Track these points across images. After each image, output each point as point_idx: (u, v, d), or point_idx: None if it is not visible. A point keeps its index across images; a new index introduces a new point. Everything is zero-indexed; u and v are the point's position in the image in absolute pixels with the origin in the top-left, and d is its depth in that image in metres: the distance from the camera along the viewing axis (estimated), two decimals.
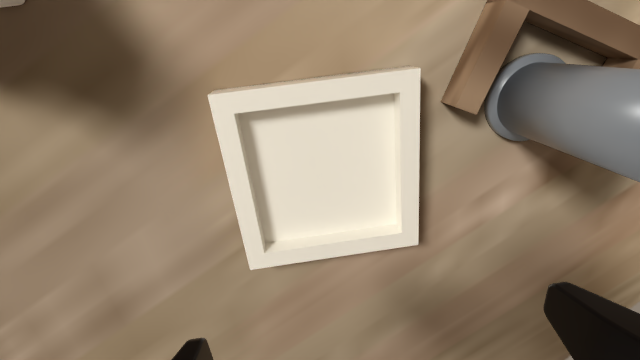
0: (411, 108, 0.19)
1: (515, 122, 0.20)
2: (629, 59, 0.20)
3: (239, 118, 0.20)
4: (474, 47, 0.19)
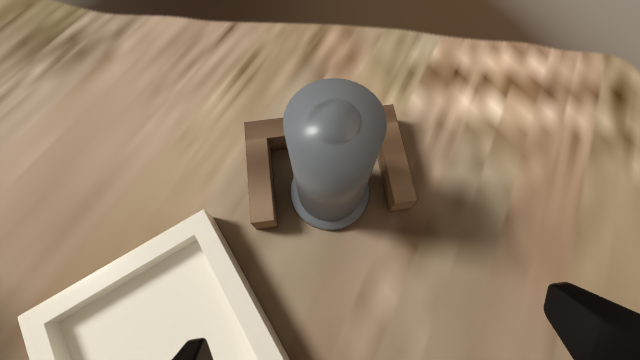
0: (211, 241, 0.20)
1: (310, 208, 0.21)
2: None
3: (62, 329, 0.20)
4: None
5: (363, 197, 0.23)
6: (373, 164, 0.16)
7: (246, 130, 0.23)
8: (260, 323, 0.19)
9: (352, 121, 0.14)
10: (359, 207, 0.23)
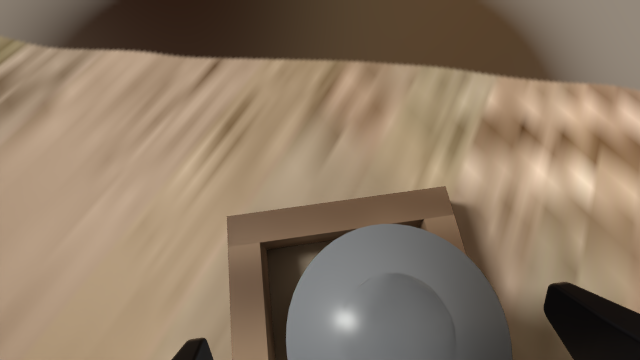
0: None
1: None
2: (421, 222, 0.16)
3: None
4: None
5: None
6: None
7: (229, 229, 0.16)
8: None
9: (436, 332, 0.07)
10: None
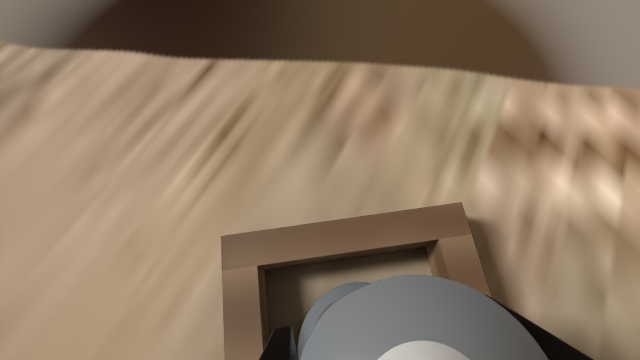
0: None
1: None
2: (435, 242, 0.15)
3: None
4: None
5: None
6: None
7: (224, 251, 0.14)
8: None
9: None
10: None
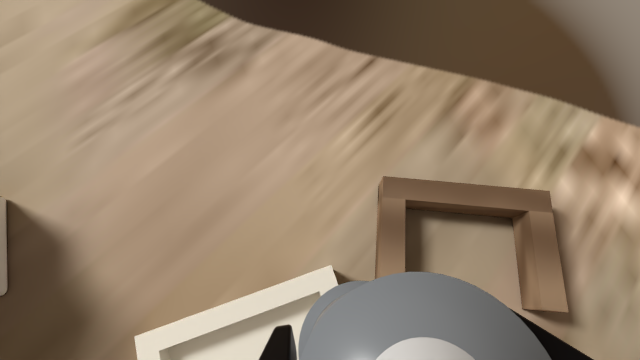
0: None
1: None
2: (524, 213, 0.21)
3: (170, 357, 0.19)
4: (378, 237, 0.21)
5: None
6: None
7: (384, 185, 0.22)
8: None
9: None
10: None
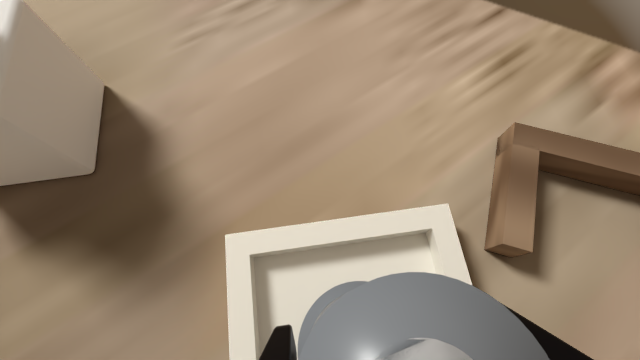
0: (450, 245, 0.17)
1: None
2: None
3: (255, 267, 0.17)
4: (499, 188, 0.19)
5: None
6: None
7: (516, 132, 0.19)
8: None
9: None
10: None
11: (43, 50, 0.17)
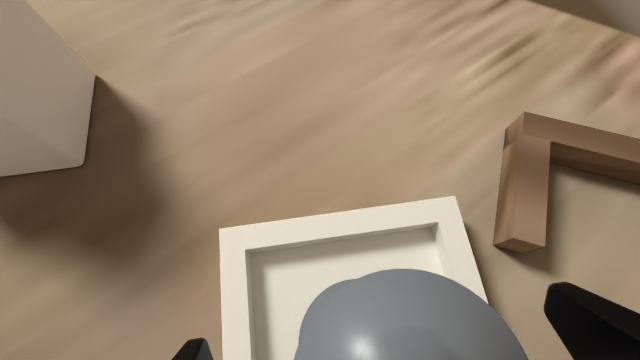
0: (458, 240, 0.16)
1: None
2: None
3: (251, 263, 0.17)
4: (508, 181, 0.18)
5: None
6: None
7: (525, 122, 0.18)
8: None
9: None
10: None
11: (27, 34, 0.16)
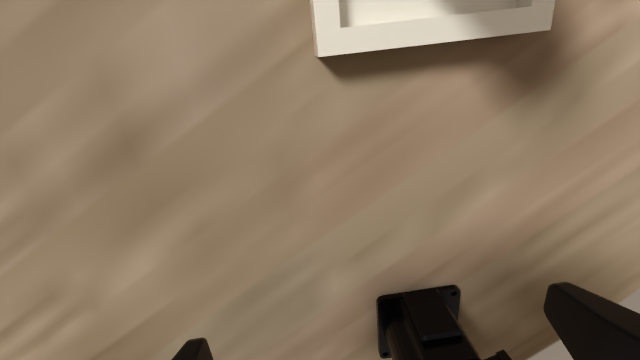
0: None
1: None
2: None
3: None
4: None
5: None
6: None
7: None
8: None
9: None
10: None
11: None
